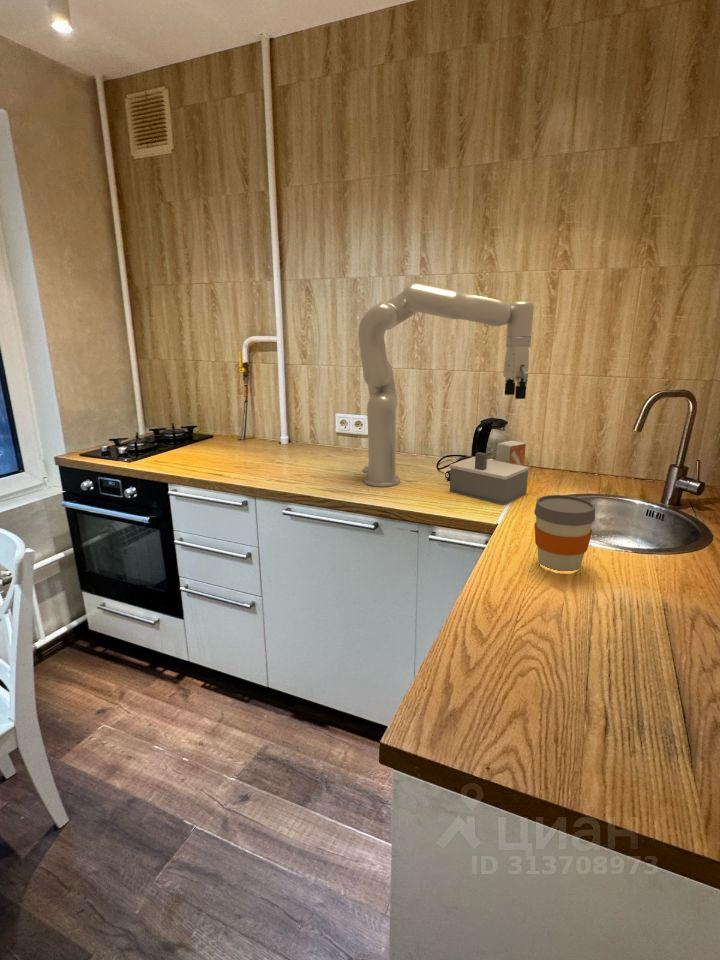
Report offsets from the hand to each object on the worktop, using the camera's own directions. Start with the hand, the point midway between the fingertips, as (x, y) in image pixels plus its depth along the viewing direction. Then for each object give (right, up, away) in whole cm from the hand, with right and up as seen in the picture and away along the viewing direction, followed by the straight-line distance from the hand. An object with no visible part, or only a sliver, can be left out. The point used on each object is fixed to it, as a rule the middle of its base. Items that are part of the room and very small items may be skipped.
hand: (514, 396), depth 167 cm
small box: (+2, -27, +15) cm, 31 cm away
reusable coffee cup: (-5, -47, -50) cm, 69 cm away
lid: (-9, -24, -2) cm, 25 cm away
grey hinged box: (-9, -31, +1) cm, 33 cm away
